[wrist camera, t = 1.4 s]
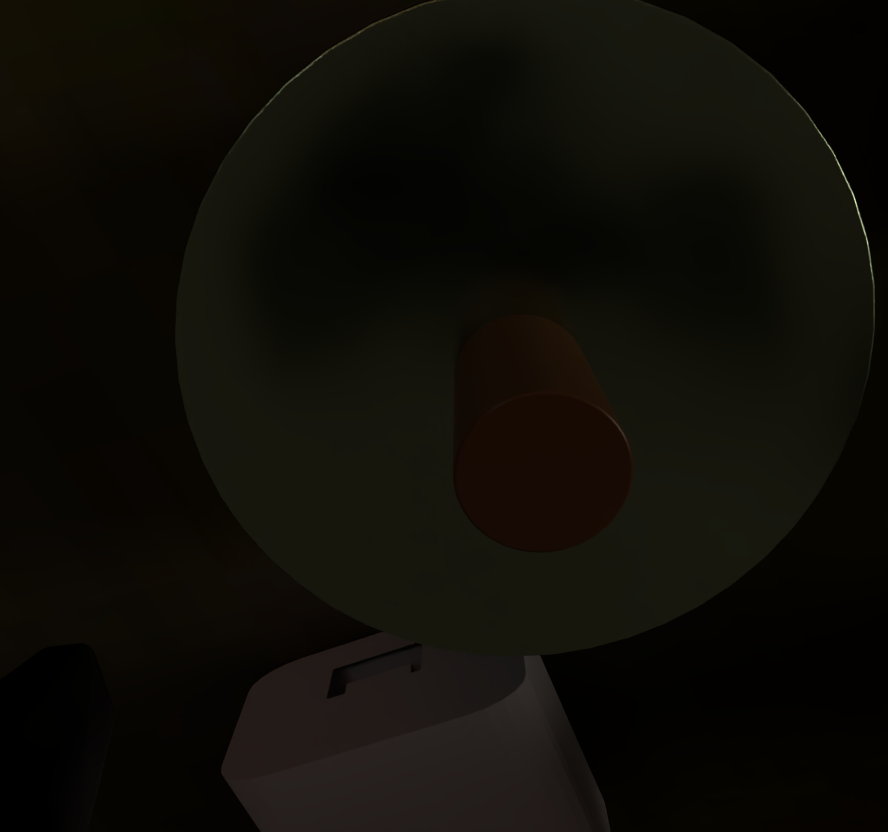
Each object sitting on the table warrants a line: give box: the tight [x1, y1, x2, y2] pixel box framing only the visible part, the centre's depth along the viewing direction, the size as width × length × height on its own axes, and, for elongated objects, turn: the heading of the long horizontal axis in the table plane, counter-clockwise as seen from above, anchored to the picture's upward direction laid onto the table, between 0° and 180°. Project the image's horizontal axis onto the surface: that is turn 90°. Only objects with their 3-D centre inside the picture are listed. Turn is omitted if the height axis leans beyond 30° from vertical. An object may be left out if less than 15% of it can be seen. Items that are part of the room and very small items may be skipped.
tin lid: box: [174, 0, 875, 657], centre depth 12 cm, size 13×13×5 cm
